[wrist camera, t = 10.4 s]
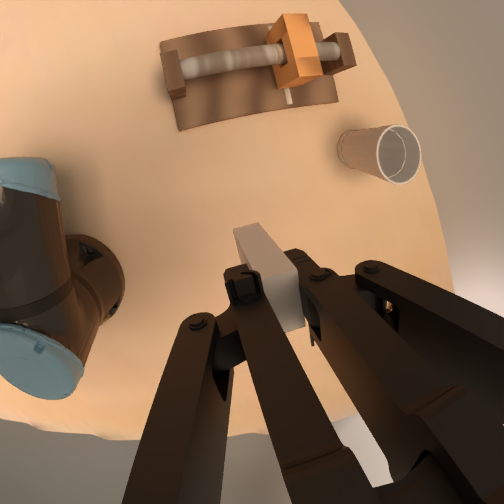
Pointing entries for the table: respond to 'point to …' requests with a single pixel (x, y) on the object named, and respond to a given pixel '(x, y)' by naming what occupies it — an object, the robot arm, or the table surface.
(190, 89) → the pipe stand
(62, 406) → the table surface
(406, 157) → the cup
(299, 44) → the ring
